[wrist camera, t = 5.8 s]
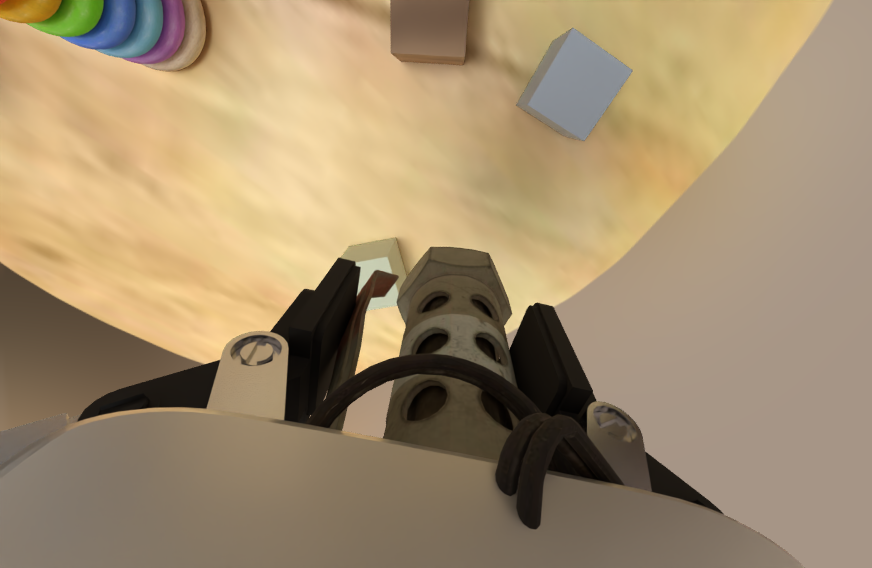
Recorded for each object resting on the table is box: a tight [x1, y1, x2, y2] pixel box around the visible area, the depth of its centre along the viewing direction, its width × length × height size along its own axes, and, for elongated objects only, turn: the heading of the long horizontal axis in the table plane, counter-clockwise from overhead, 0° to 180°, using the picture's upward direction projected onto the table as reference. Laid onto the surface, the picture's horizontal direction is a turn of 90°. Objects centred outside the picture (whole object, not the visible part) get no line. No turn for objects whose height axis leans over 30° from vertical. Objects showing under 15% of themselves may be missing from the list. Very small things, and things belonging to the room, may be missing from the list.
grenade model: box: [305, 247, 625, 530], centre depth 9 cm, size 6×7×15 cm
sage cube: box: [341, 238, 407, 310], centre depth 34 cm, size 5×5×5 cm
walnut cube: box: [391, 0, 469, 65], centre depth 24 cm, size 5×5×5 cm
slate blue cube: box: [516, 28, 633, 141], centre depth 26 cm, size 5×5×5 cm
